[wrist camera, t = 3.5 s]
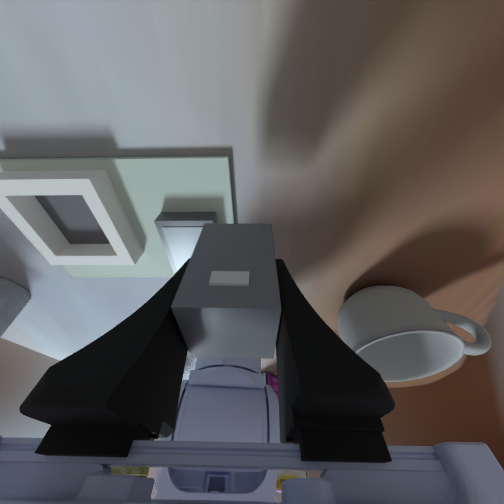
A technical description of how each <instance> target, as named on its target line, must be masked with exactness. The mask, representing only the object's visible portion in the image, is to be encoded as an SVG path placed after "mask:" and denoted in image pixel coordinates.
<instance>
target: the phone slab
mask: <svg viewBox="0 0 504 504" xmlns="http://www.w3.org/2000/svg"><path fill="white" fill-rule="evenodd" d="M154 222H155V225H156V228H157V230H158V233H159V235H160V238H161V241H162V243H163V246H164V249H165V251H166V254H167V257H168V259H169V262H170V265H171V267H172V270H173V273H174V274H175V273H176V272H177V271H178V270H179V269H180V268H181V267H182V265H183V264H184V263H185V262H186V261H187V260H188V259H189V258H191V256H192V253H193V251H194V248H195V246H196V243H197V241H198V238H199V236H200V233H201V231H202V228H203V226H204V223H217V216H216V212H161V213H160V214H159V215H158V217H157V218H156V219H155V220H154Z"/></svg>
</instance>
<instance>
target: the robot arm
mask: <svg viewBox="0 0 504 504" xmlns="http://www.w3.org/2000/svg"><path fill="white" fill-rule="evenodd" d="M275 260H276V268H277V277H278V285H279V293H280V301H281V315H280V321H279V327H278V333H277V339H276V356H277V375H278V398H279V406H278V400H277V396H276V394H275V392H274V391H273V390H272V388H271V386H270V385H265V383H264V374H261V358H218V357H197V362H196V366H195V370H191V372H190V376H189V380H183V381H182V377H183V372H184V367H185V361H186V356H187V351H188V347H187V345H186V343H185V340H184V338H183V335H182V333H181V331H180V328H179V326H178V323H177V321H176V318H175V316H174V314H173V311H172V309H171V306H172V303H173V301H174V298H175V296H176V293H177V291H178V288H179V286H180V283H181V281H182V278H183V276H184V273H185V271H186V268H187V266H188V263H189V261H190V258H189V259H188V260H187V261H186V262H185V263H184V264H183V265H182V267H181V268H180V269H179V270H178V271H177V272H176V273H175V274H174V275H173V277H172V278H171V279H170V280H169V281H168V282H167V283H166V284H165V285H164V286H163V287H162V288H161V289H160V290H159V291H158V292H157V293H156V294H155V295H154V296H153V297H152V298H151V299H149V300H148V301H147V302H146V303H145V304H144V305H143V306H142V307H140V308H139V309H138V310H137V311H136V312H134V313H133V314H132V315H130V316H129V317H128V318H126V319H125V320H124V321H122V322H121V323H120V324H118V325H117V326H116V327H114V328H113V329H111V330H110V331H108V332H107V333H106V334H104V335H103V336H101V337H100V338H98V339H96V340H95V341H93V342H92V343H90V344H89V345H87V346H85V347H84V348H82V349H80V350H79V351H77V352H75V353H74V354H72V355H70V356H68V357H67V358H65V359H63V360H62V361H60V362H58V363H56V364H55V365H53V366H51V367H50V368H49V369H48V370H47V371H46V373H45V374H44V375H43V377H42V378H41V379H40V381H39V382H38V383H37V385H36V386H35V387H34V389H33V390H32V391H31V392H30V394H29V395H28V397H27V398H26V399H25V401H24V402H23V403H22V404H21V406H20V412H21V413H22V414H23V415H25V416H28V417H31V418H33V419H36V420H39V421H42V422H45V423H47V424H50V425H51V427H50V428H49V430H48V432H47V433H46V435H45V436H44V438H11V437H10V438H9V437H2V436H1V435H0V504H504V470H503V469H502V467H501V466H500V464H499V463H498V461H497V460H496V458H495V457H494V455H493V454H492V452H491V451H490V449H489V448H488V446H487V445H486V444H484V443H475V442H474V443H473V442H448V443H440V444H437V445H435V446H434V447H431V446H430V447H429V446H428V447H427V446H387V445H386V443H385V440H384V437H383V435H382V432H383V431H384V427H383V424H382V421H381V419H380V418H381V417H383V416H384V415H386V414H388V413H389V412H391V411H392V410H393V409H394V407H395V403H394V400H393V398H392V396H391V394H390V391H389V390H388V388H387V386H386V384H385V382H384V380H383V379H382V377H381V375H380V373H379V372H378V371H376V370H375V369H374V368H373V367H372V366H370V365H369V364H368V363H367V362H366V361H364V360H363V359H362V358H361V357H360V356H359V355H358V354H356V353H355V352H354V351H353V350H352V349H351V348H350V347H349V346H348V345H347V344H346V343H344V342H343V341H342V340H341V339H340V338H339V337H338V336H337V334H336V333H335V332H334V331H333V330H332V329H331V328H330V327H329V326H328V325H327V324H326V323H325V322H324V321H323V320H322V319H321V317H320V316H319V315H318V314H317V313H316V312H315V310H314V309H313V308H312V307H311V305H310V304H309V303H308V301H307V300H306V298H305V297H304V296H303V294H302V293H301V291H300V290H299V288H298V287H297V285H296V284H295V282H294V280H293V279H292V277H291V275H290V273H289V271H288V270H287V268H286V265H285V263H284V261H283V260H282V259H275ZM158 438H160V439H159V441H152V440H150V439H158ZM109 466H127V467H158V470H157V477H156V482H155V492H156V496H155V499H151V492H152V489H153V485H154V479H153V478H145V477H138V476H135V475H121V474H112V473H111V468H110V467H109ZM277 470H302V471H323V473H322V474H321V476H320V478H287V479H286V481H282V483H281V489H282V502H274V495H275V493H276V479H277Z"/></svg>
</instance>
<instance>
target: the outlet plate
mask: <svg viewBox="0 0 504 504" xmlns="http://www.w3.org/2000/svg"><path fill="white" fill-rule="evenodd" d="M0 208H1V209H2V211H3V212H4V213H5V214H6V215H7V216H8V217H9V218H10V219H11V221H12V222H13V223H14V224H15V225H16V226H17V227H18V228H19V229H20V231H21V232H22V233H23V234H24V235H25V236H26V237H27V238H28V239H29V241H30V242H31V243H32V244H33V245H34V246H35V247H36V248H37V249H38V251H39V252H40V253H41V254H42V255H43V256H44V257H45V258H46V260H47V261H48V262H49V263H50V264H51V265H61V266H62V267H63V268H64V269H65V270H66V271H67V273H68V274H69V275H70V276H71V277H173V275H174V273H173V270H172V267H171V265H170V262H169V259H168V257H167V254H166V251H165V249H164V246H163V243H162V241H161V238H160V235H159V233H158V230H157V228H156V225H155V222H154V220H155V219H156V218H157V217H158V215H159V214H160V213H161V212H216V216H217V223H224V224H234V213H233V202H232V190H231V178H230V166H229V156H167V157H93V158H20V159H0Z"/></svg>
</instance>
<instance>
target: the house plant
mask: <svg viewBox="0 0 504 504" xmlns="http://www.w3.org/2000/svg"><path fill="white" fill-rule="evenodd" d="M30 299H31V296H30V294H29V292H28V291H27V290H26V289H24V288H23V287H21V286H20V285H18V284H16V283H14V282H12V281H9V280H7V279H3V278H0V337H1V336H2V335H3V333H4V332H5V331H6V329H7V328H8V327H9V326H10V324H11V323H12V322H13V321H14V319H15V318H16V317H17V316H18V314H19V313H20V312H21V311H22V309H23V308H24V307H25V305H26V304H27V303H28V302H29V300H30Z"/></svg>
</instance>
